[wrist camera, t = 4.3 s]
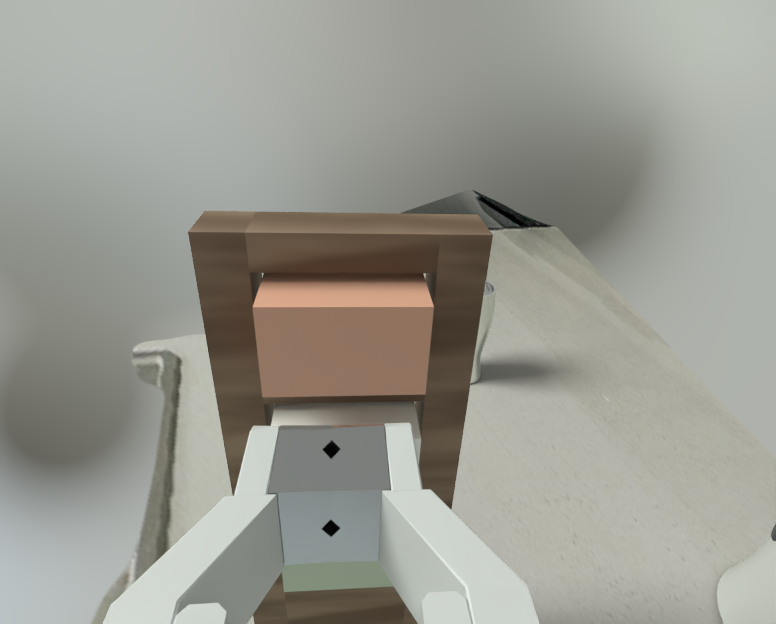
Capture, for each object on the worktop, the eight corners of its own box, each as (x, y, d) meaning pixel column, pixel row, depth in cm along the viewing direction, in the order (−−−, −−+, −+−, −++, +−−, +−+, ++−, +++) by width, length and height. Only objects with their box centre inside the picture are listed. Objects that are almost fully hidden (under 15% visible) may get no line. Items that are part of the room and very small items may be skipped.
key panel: (429, 650, 41) (492, 234, 23) (260, 661, 40) (188, 231, 22) (425, 614, 44) (477, 214, 26) (266, 623, 43) (204, 210, 25)
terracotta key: (425, 394, 24) (434, 306, 22) (262, 397, 24) (252, 307, 21) (415, 349, 28) (421, 269, 26) (272, 351, 27) (265, 269, 25)
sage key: (407, 585, 32) (411, 536, 30) (283, 592, 32) (278, 542, 29) (401, 532, 36) (404, 484, 33) (290, 537, 35) (285, 488, 33)
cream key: (415, 503, 28) (421, 439, 26) (274, 508, 28) (267, 443, 25) (407, 452, 32) (412, 391, 29) (282, 455, 31) (276, 393, 29)
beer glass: (492, 376, 76) (508, 289, 68) (461, 392, 72) (474, 302, 64) (460, 355, 80) (471, 271, 73) (428, 369, 76) (437, 283, 69)
